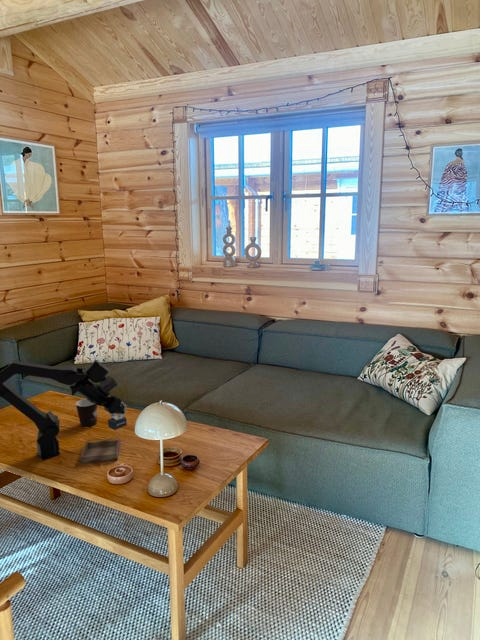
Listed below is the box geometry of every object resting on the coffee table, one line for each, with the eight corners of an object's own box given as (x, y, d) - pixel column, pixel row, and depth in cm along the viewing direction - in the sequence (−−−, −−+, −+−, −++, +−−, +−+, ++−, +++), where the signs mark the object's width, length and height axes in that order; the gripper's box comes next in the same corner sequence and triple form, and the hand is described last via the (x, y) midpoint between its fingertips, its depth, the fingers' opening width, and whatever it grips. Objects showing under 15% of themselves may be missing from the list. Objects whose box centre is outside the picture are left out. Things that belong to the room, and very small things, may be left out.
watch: (117, 431, 180) (115, 404, 178) (105, 425, 185) (103, 399, 183) (129, 426, 184) (128, 400, 182) (117, 421, 189) (115, 395, 187)
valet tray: (81, 463, 166) (80, 457, 165) (86, 448, 177) (85, 442, 176) (117, 460, 168) (116, 453, 167) (120, 445, 179) (120, 438, 178)
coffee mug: (86, 430, 192) (83, 407, 190) (73, 425, 197) (71, 403, 195) (109, 420, 201) (107, 398, 199) (97, 416, 206) (95, 394, 204)
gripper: (115, 377, 170) (143, 398, 180) (91, 366, 183) (118, 386, 193) (96, 404, 167) (126, 423, 176) (74, 391, 180) (102, 409, 190)
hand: (118, 409), depth 184 cm, fingers closed on watch, 8 cm apart
